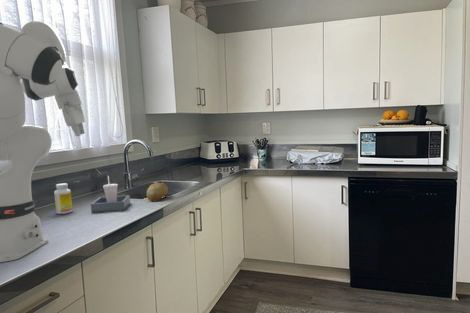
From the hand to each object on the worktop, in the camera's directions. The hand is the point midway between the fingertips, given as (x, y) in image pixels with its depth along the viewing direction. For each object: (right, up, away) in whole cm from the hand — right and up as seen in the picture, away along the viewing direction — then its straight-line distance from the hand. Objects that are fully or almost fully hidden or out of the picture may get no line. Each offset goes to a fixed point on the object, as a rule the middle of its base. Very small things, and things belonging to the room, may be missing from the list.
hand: (80, 135), depth 144 cm
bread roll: (+25, -30, +32) cm, 51 cm away
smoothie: (+8, -32, +15) cm, 36 cm away
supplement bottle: (-12, -34, +11) cm, 38 cm away
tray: (+7, -33, +15) cm, 37 cm away
